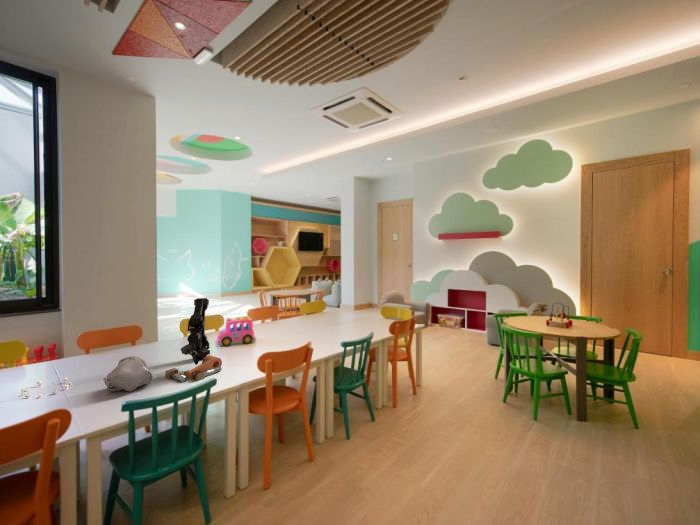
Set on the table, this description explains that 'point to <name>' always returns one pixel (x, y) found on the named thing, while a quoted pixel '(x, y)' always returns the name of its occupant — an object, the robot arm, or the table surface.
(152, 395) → the table surface
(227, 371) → the table surface
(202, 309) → the robot arm
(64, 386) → the game piece set
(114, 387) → the grey rock
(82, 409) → the table surface
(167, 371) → the hex bolt
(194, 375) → the shaft
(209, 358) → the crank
